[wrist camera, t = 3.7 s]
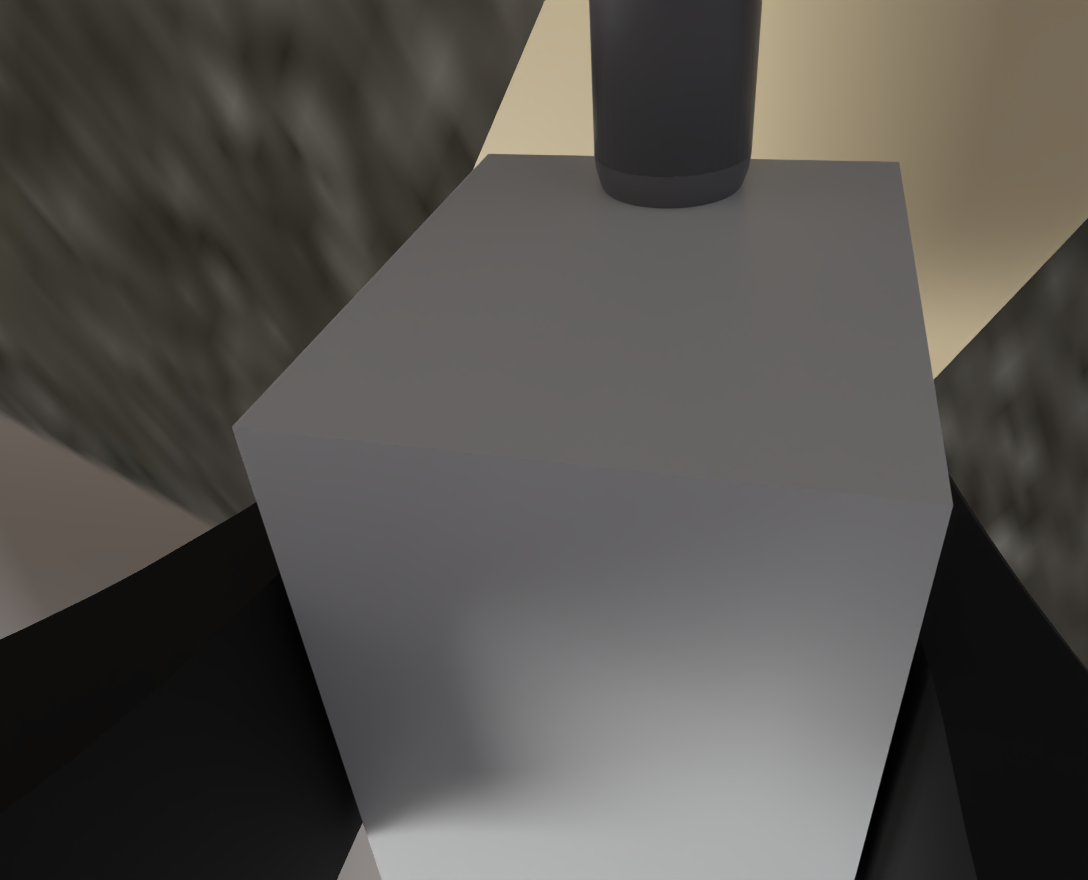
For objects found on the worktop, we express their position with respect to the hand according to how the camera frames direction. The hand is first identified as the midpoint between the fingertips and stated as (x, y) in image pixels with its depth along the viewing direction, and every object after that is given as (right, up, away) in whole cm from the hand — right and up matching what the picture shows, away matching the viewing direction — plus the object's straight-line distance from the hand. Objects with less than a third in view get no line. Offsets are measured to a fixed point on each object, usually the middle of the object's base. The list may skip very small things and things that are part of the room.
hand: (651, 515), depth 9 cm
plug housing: (0, +3, 0) cm, 3 cm away
